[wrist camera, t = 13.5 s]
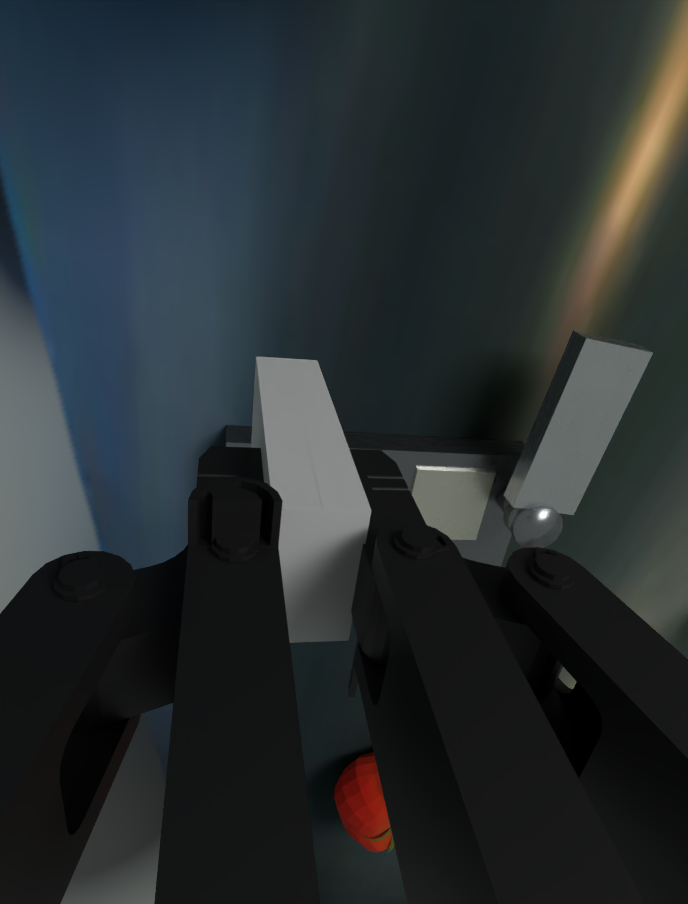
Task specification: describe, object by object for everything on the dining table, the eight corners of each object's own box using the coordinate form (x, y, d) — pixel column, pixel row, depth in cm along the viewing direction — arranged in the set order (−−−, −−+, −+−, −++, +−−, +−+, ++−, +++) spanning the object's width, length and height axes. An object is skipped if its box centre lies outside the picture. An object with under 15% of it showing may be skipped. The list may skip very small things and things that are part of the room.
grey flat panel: (636, 343, 44) (657, 355, 42) (545, 535, 51) (559, 552, 49) (571, 329, 42) (590, 340, 40) (488, 528, 50) (499, 546, 48)
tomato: (324, 803, 74) (335, 880, 66) (330, 737, 68) (343, 813, 60) (429, 789, 76) (452, 862, 69) (444, 725, 71) (471, 797, 63)
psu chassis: (226, 425, 47) (226, 456, 43) (526, 441, 53) (554, 470, 48) (219, 546, 53) (218, 585, 48) (492, 549, 58) (514, 584, 54)
